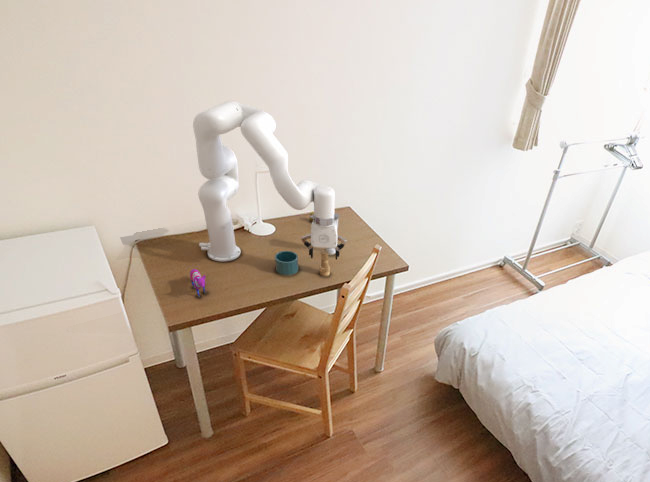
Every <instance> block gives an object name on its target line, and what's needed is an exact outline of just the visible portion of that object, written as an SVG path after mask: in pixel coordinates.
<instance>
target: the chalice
mask: <svg viewBox="0 0 650 482" xmlns="http://www.w3.org/2000/svg"><path fill="white" fill-rule="evenodd" d="M339 218H340V215H339V213H337V212H335V213H334V221H335V222H336V225H337V229H339ZM325 250H327V251H328V255H336V249H335V248H325Z"/></svg>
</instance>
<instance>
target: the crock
mask: <svg viewBox="0 0 650 482" xmlns="http://www.w3.org/2000/svg"><path fill="white" fill-rule="evenodd" d="M274 255H275V256H274V264H275V272H277V273H278V274H280V275H284V276H291V275H295V274H297V273H298V272H299V255H298V254H297V253H296V252H295V251H292V250H282V251H278V252H276V254H274Z"/></svg>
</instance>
